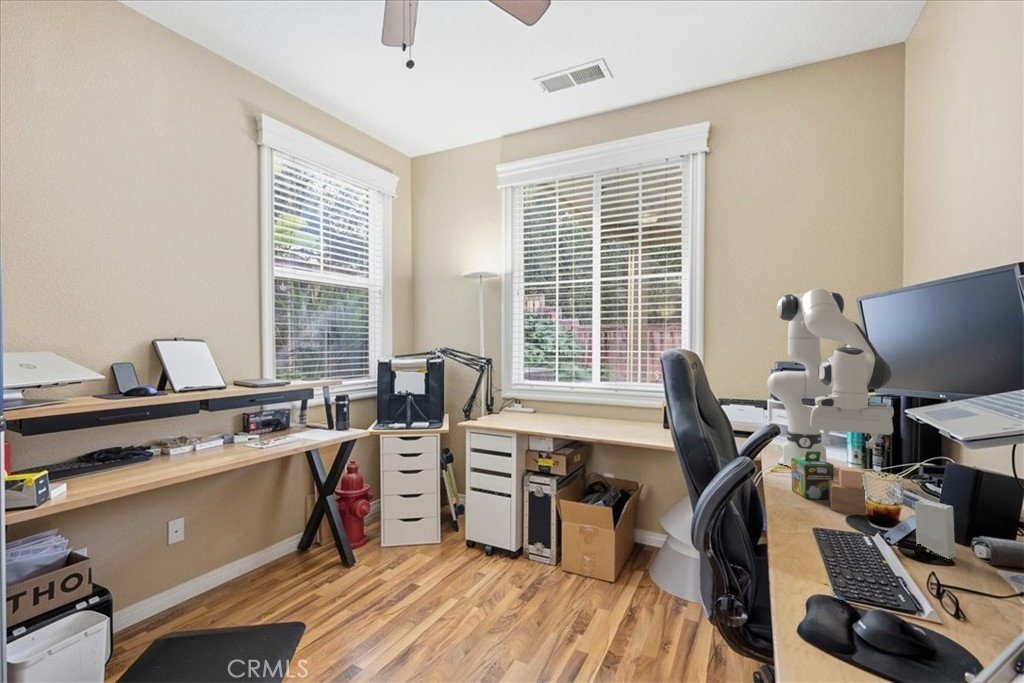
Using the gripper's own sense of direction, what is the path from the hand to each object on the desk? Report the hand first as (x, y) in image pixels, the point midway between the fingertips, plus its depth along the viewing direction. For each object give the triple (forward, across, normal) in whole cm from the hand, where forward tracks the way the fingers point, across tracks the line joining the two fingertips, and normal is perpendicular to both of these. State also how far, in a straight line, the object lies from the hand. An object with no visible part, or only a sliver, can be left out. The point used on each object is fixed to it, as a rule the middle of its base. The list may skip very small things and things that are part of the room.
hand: (849, 446), depth 137 cm
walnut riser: (+19, 0, +1) cm, 19 cm away
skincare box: (+19, -13, +27) cm, 35 cm away
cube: (+12, 0, 0) cm, 12 cm away
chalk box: (+20, +9, -9) cm, 23 cm away
